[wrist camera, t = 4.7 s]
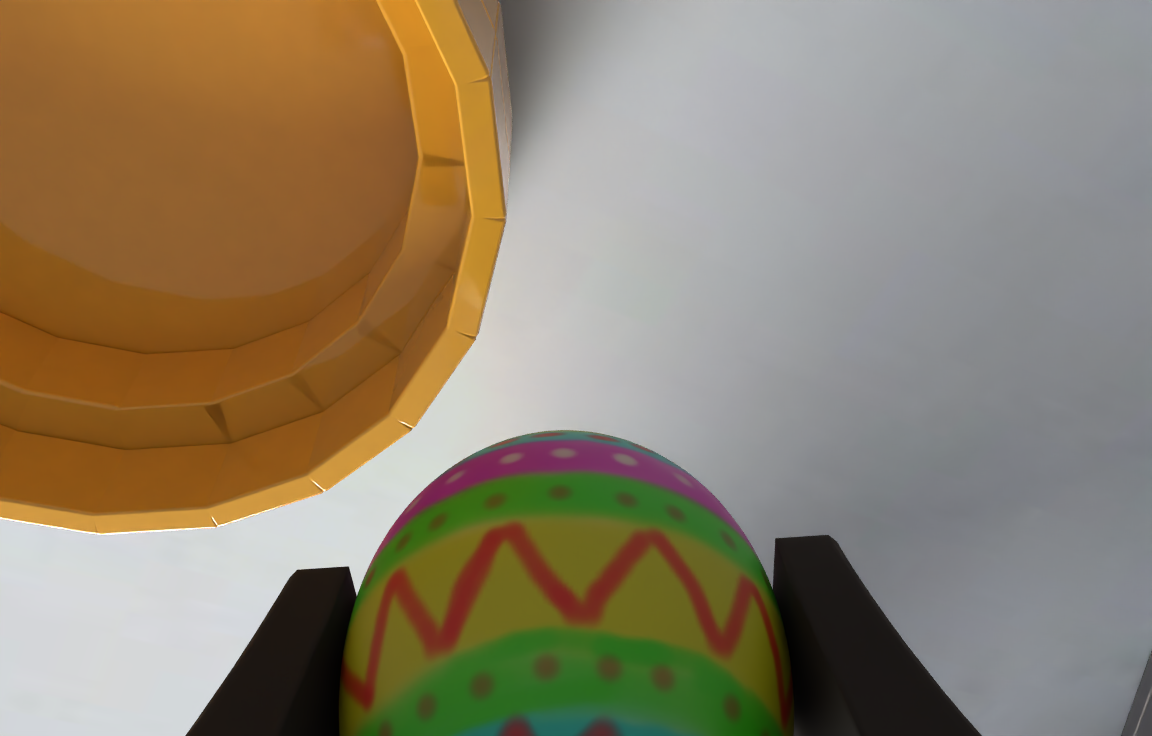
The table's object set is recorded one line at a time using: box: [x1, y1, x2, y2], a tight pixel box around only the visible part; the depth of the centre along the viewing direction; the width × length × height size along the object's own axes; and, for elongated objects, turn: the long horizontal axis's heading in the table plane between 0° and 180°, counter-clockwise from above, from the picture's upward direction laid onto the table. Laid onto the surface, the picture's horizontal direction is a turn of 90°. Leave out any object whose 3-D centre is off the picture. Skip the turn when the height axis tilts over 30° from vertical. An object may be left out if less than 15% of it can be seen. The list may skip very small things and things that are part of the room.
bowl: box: [0, 0, 513, 535], centre depth 16 cm, size 13×13×4 cm
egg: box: [339, 430, 794, 736], centre depth 11 cm, size 5×5×6 cm
